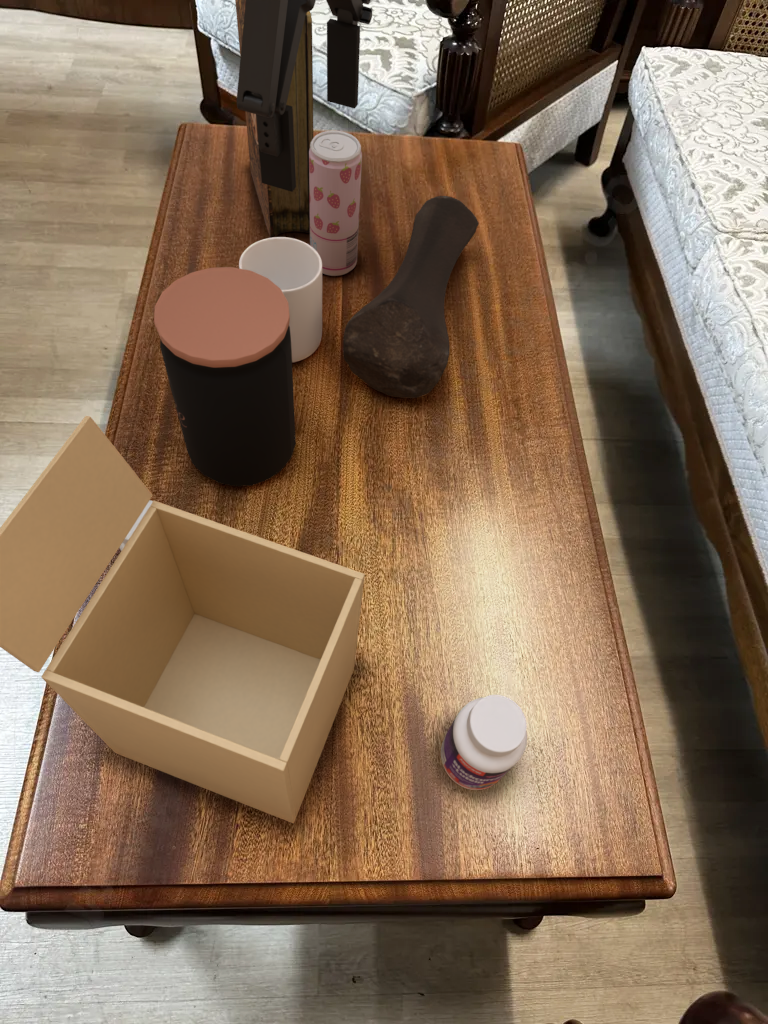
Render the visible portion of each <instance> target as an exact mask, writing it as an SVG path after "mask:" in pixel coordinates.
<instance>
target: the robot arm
mask: <svg viewBox="0 0 768 1024" xmlns="http://www.w3.org/2000/svg"><path fill="white" fill-rule="evenodd" d="M316 1H317V0H246V4H245V15H244V26H243V36H242V47H241V58H240V57H239V58H240V59H239V68H238V69H239V70H238V81H237V93H236V107H237V108H236V109H238V110H240V111H243V112H245V111H246V112H249V113H253V114H256V123H257V134H258V145H259V157H260V168H261V179H262V183H264V184H267V185H270V186H274V187H277V188H281V189H284V190H287V191H291V192H293V190H294V189H295V188H296V173H295V151H294V128H293V106H289V105H286V104H287V99H288V95H289V90H290V85H291V81H292V76H293V71H294V66H295V62H296V57H297V52H298V48H299V43H300V38H301V34H302V29H303V24H304V20H305V15H306V13H307V12H309V11H310V12H311V11H312V10H313V9H314V8H315V5H316ZM325 1H326V3H327V6H328V8H329V10H330V13H331V15H332V16H333V17H336V19H334V18H329V19H328V20H327V21H326V101H327V102H329V103H332V104H336V105H340V106H343V107H346V108H351V109H354V110H355V109H356V108H357V106H358V105H359V77H360V73H359V72H360V47H361V46H360V45H361V44H360V43H361V25H359V23H361V24H365V25H371V22H372V18H373V8H372V7H368V6H364V5H369V4H370V3H371V1H372V0H325Z"/></svg>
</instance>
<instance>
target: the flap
mask: <svg viewBox="0 0 768 1024" xmlns="http://www.w3.org/2000/svg"><path fill="white" fill-rule="evenodd" d="M153 496H154V495H153V493H152V492H151V491H150V490H149V488H148V487H147V486H146V485H145V483H144V482H143V481H142V479H141V478H140V477H139V476H138V474H137V473H136V472H135V470H134V469H133V468H132V466H130V464H129V463H128V462H127V460H126V459H125V458H124V457H123V456H122V454H121V453H120V452H119V451H118V449H117V448H116V447H115V445H113V443H112V442H111V440H110V439H109V438H108V436H106V434H105V433H104V432H103V431H102V429H101V428H100V427H99V426H98V424H97V423H96V421H94V419H93V418H92V416H90V415H85V416H84V417H83V419H81V421H80V422H79V424H78V425H77V426H76V427H75V429H74V430H73V432H72V433H71V434H70V435H69V437H68V438H67V439H66V441H65V442H64V443H63V445H62V446H61V447H60V449H58V451H57V452H56V454H55V455H54V456H53V458H52V459H51V460H50V462H49V463H48V464H47V466H46V467H45V468H44V470H43V471H42V472H41V473H40V475H39V476H38V478H37V479H36V480H35V481H34V482H33V484H32V485H31V487H30V488H29V489H28V491H27V492H26V493H25V495H24V496H23V497H22V498H21V500H19V502H18V503H17V505H16V506H15V508H14V509H13V510H12V511H11V513H10V514H9V515H8V517H7V518H6V520H5V521H4V522H3V523H2V524H1V526H0V648H1V649H2V650H3V651H5V652H6V653H8V654H9V655H11V656H12V657H13V658H15V659H16V660H17V661H19V662H21V663H22V664H23V665H25V666H26V667H28V668H29V669H31V671H32V672H35V673H40V671H41V670H42V668H43V667H44V665H45V664H46V662H47V661H48V659H49V658H50V656H51V655H52V653H53V652H54V650H55V648H56V647H57V645H58V643H59V642H60V641H61V639H62V637H63V636H64V634H65V633H66V632H67V630H68V629H69V626H70V625H71V623H72V622H73V621H74V619H75V617H76V616H77V614H78V613H79V611H80V609H81V608H82V606H83V605H84V603H85V602H86V600H87V598H88V597H89V595H90V594H91V592H92V591H93V589H94V588H95V586H96V585H97V583H98V582H99V580H100V579H101V577H102V575H103V574H104V572H105V571H106V569H107V568H108V566H109V565H110V563H111V561H112V560H113V558H114V557H115V555H116V553H117V552H118V550H120V549H119V547H120V546H121V544H122V542H123V541H124V539H125V538H126V536H127V535H128V533H129V531H130V530H131V528H132V527H133V525H134V524H135V522H136V521H137V519H138V517H139V516H140V514H141V513H142V511H143V510H144V508H145V507H146V505H147V503H148V502H149V500H151V499H152V497H153Z"/></svg>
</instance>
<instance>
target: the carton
mask: <svg viewBox="0 0 768 1024" xmlns="http://www.w3.org/2000/svg"><path fill="white" fill-rule="evenodd" d="M152 501H153V502H152V504H151V506H150V507H149V509H148V510H147V512H146V513H145V515H144V516H143V518H142V520H141V521H140V523H139V524H138V526H137V527H136V529H135V531H134V532H133V534H132V535H131V537H130V538H129V540H128V541H127V543H126V545H125V546H124V548H123V549H122V551H121V550H120V552H119V553H118V555H117V557H116V559H115V560H114V562H113V564H111V567H110V568H109V570H108V571H107V573H106V574H105V576H104V577H103V578H102V581H101V582H100V584H99V585H98V587H97V588H96V590H95V591H94V593H93V595H92V596H91V598H90V599H89V601H88V602H87V604H86V606H85V607H84V609H83V610H82V612H81V614H80V615H79V617H78V618H77V620H76V621H75V623H74V624H73V626H72V628H71V629H70V631H69V633H67V636H66V637H65V639H64V640H63V642H62V643H61V645H60V647H58V650H57V651H56V653H55V654H54V656H53V657H52V659H51V661H50V662H49V663H48V665H47V667H46V669H45V670H44V671H43V673H42V674H41V679H42V680H43V681H44V682H45V683H46V684H47V685H48V686H49V687H50V688H51V689H52V690H53V691H54V692H55V693H56V694H57V695H58V696H59V697H60V698H61V699H62V701H64V702H65V704H67V705H68V707H70V708H71V710H72V711H74V712H75V714H76V715H77V716H78V717H80V719H82V720H83V722H84V723H85V724H86V725H87V726H88V727H89V728H90V729H91V730H92V731H93V732H94V733H95V734H96V735H97V736H98V737H99V738H100V739H101V740H102V741H103V742H104V743H105V744H106V745H107V747H109V748H110V750H112V752H113V753H114V754H117V755H119V756H121V757H124V758H127V759H129V760H132V761H134V762H137V763H139V764H142V765H144V766H147V767H150V768H152V769H154V770H157V771H159V772H162V773H165V774H167V775H170V776H172V777H175V778H177V779H180V780H182V781H185V782H188V783H189V784H191V785H195V786H198V787H200V788H203V789H205V790H207V791H210V792H213V793H215V794H217V795H221V796H222V797H225V798H228V799H230V800H233V801H235V802H238V803H240V804H243V805H246V806H248V807H251V808H253V809H256V810H258V811H261V812H263V813H266V814H268V815H270V816H273V817H276V818H278V819H281V820H284V821H286V822H289V823H291V824H295V822H296V819H297V816H298V814H299V811H300V809H301V806H302V804H303V801H304V798H305V796H306V794H307V791H308V788H309V785H310V783H311V781H312V778H313V775H314V773H315V770H316V767H317V765H318V762H319V760H320V757H321V755H322V752H323V749H324V747H325V744H326V742H327V739H328V737H329V735H330V732H331V729H332V727H333V724H334V721H335V719H336V716H337V714H338V711H339V709H340V706H341V703H342V701H343V699H344V696H345V694H346V691H347V688H348V685H349V684H350V681H351V678H352V675H353V673H354V670H355V664H356V657H357V656H356V655H357V649H358V648H357V646H358V638H359V629H360V621H361V620H360V619H361V611H362V603H363V595H364V584H365V577H366V575H365V573H364V572H360V571H357V570H354V569H352V568H349V567H347V566H344V565H341V564H337V563H335V562H332V561H329V560H326V559H324V558H321V557H317V556H316V555H312V554H309V553H306V552H304V551H300V550H297V549H295V548H292V547H288V546H286V545H283V544H280V543H277V542H274V541H272V540H269V539H265V538H263V537H261V536H258V535H254V534H252V533H249V532H246V531H243V530H240V529H237V528H234V527H232V526H229V525H225V524H223V523H220V522H217V521H214V520H212V519H209V518H206V517H203V516H200V515H197V514H194V513H191V512H188V511H185V510H183V509H180V508H177V507H174V506H171V505H168V504H165V503H162V502H159V501H157V500H152Z"/></svg>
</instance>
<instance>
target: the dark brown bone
mask: <svg viewBox="0 0 768 1024" xmlns="http://www.w3.org/2000/svg"><path fill="white" fill-rule="evenodd" d="M479 225H480V222H479V220H478V218H477V217H476V215H475V214H474V213H473V212H472V210H470V209H469V208H468V206H466V204H465V203H464V202H463V201H461V200H460V199H458V198H455V197H453V196H448V195H438V196H434V197H431V198H429V199H427V200H426V201H425V202H424V203H423V204H422V206H421V207H420V209H419V210H418V211H417V213H416V214H415V216H414V221H413V226H412V230H411V234H410V235H411V236H410V240H409V242H408V246H407V249H406V253H405V256H404V258H403V260H402V262H401V264H400V267H399V269H398V270H397V272H396V273H395V275H394V277H393V278H392V279H391V281H390V282H389V283H388V284H387V286H386V287H384V289H383V290H382V291H381V292H380V293H379V294H378V295H377V296H375V297H374V298H373V299H372V300H371V301H369V302H368V303H367V304H365V305H364V306H362V307H361V308H360V309H359V310H358V311H357V312H355V314H353V315H352V316H351V317H350V319H349V320H348V321H347V323H346V325H345V328H344V331H343V338H342V339H343V342H342V343H343V346H342V347H343V348H342V355H343V360H344V362H345V363H346V364H347V366H348V369H350V371H351V373H352V374H353V375H354V376H356V377H357V378H358V379H360V380H361V381H362V382H363V383H365V384H366V386H369V387H370V388H372V389H374V390H375V391H377V392H379V393H382V394H384V395H387V396H389V397H393V398H403V399H414V398H420V397H424V396H427V395H428V394H429V393H431V392H432V390H433V389H434V388H435V387H436V385H437V384H438V383H439V381H440V380H441V378H442V377H443V374H444V372H445V370H446V368H447V366H448V362H449V357H450V338H449V333H448V328H447V323H446V316H445V299H446V291H447V286H448V283H449V279H450V277H451V274H452V272H453V269H454V267H455V266H456V263H457V261H458V259H459V258H460V256H461V254H462V252H464V250H465V248H466V247H467V246H468V244H469V242H470V241H471V239H472V238H473V237H474V235H475V234H476V233H477V229H478V227H479Z"/></svg>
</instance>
